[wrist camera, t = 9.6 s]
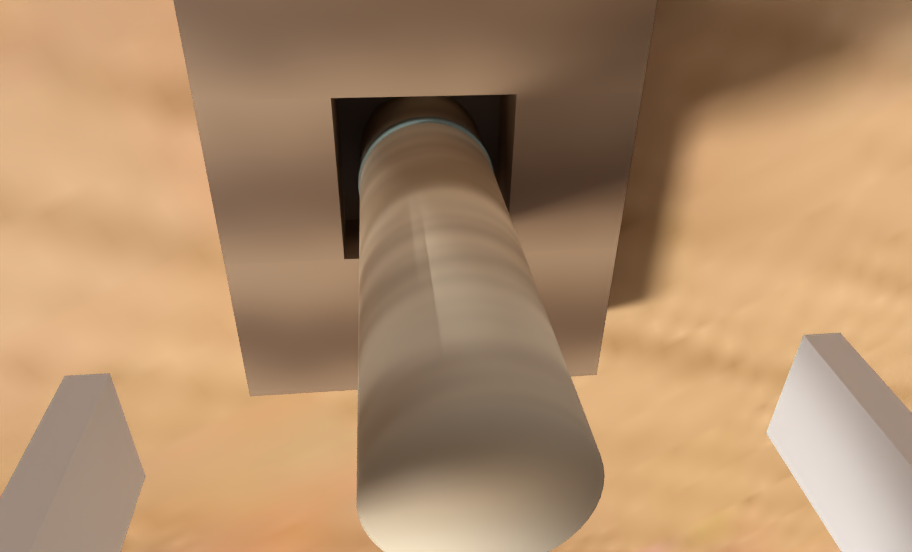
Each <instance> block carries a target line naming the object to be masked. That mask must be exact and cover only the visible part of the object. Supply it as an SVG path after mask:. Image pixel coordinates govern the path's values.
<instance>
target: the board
mask: <svg viewBox="0 0 912 552" xmlns="http://www.w3.org/2000/svg"><path fill="white" fill-rule="evenodd" d="M174 5H175V11H176V16H177V21H178V26H179V31H180V36H181V42H182V47H183V52H184V57H185V62H186V67H187V73H188V78H189V83H190V88H191V93H192V98H193V104H194V109H195V114H196V119H197V124H198V130H199V135H200V140H201V145H202V150H203V155H204V161H205V166H206V171H207V176H208V181H209V186H210V192H211V197H212V202H213V207H214V212H215V217H216V223H217V228H218V233H219V238H220V243H221V248H222V254H223V259H224V264H225V269H226V274H227V279H228V285H229V290H230V295H231V300H232V305H233V311H234V316H235V321H236V326H237V331H238V336H239V342H240V347H241V352H242V357H243V362H244V367H245V373H246V378H247V383H248V388H249V393H250V396H263V395H279V394H295V393H311V392H328V391H344V390H358V329H359V232H360V196H359V189H358V179H359V169H360V143H361V136H362V133H363V129H364V127H365V125H366V123H367V121H368V119H369V118H370V116H371V115H372V113H373V112H374V111H375V110H376V109H377V108H378V107H379V106H380V105H381V104H382V103H384V102H385V101H387V100H388V99H390V98H392V97H409V96H448V97H450V98H452V99H453V100H455V101H456V102H458V103H459V104H460V105H461V106H462V107H463V108H464V109H465V110H466V111H467V112H468V113H469V115H470V116H471V118H472V119H473V121H474V123H475V125H476V128H477V131H478V133H479V136H480V138H481V141H482V144H483V146H484V147H485V149H486V151H487V153H488V155H489V158H490V161H491V164H492V167H493V172H494V175H495V178H496V181H497V183H498V186H499V189H500V191H501V194H502V197H503V199H504V202H505V205H506V207H507V210H508V212H509V215H510V218H511V220H512V223H513V226H514V228H515V231H516V234H517V236H518V239H519V242H520V244H521V247H522V249H523V252H524V255H525V257H526V260H527V263H528V265H529V268H530V271H531V273H532V276H533V279H534V281H535V284H536V286H537V289H538V292H539V294H540V297H541V300H542V302H543V305H544V308H545V310H546V313H547V316H548V318H549V321H550V323H551V326H552V329H553V331H554V334H555V337H556V339H557V342H558V345H559V347H560V350H561V353H562V355H563V358H564V361H565V363H566V366H567V368H568V371H569V374H570V376H586V375H597V369H598V363H599V357H600V350H601V344H602V338H603V332H604V326H605V320H606V313H607V307H608V301H609V295H610V289H611V283H612V277H613V270H614V264H615V258H616V252H617V246H618V240H619V233H620V227H621V221H622V215H623V209H624V203H625V197H626V190H627V184H628V178H629V172H630V166H631V160H632V153H633V147H634V141H635V135H636V129H637V123H638V117H639V110H640V104H641V98H642V92H643V86H644V80H645V74H646V67H647V61H648V55H649V49H650V43H651V37H652V30H653V24H654V18H655V12H656V6H657V0H174Z"/></svg>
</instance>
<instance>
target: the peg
mask: <svg viewBox="0 0 912 552" xmlns="http://www.w3.org/2000/svg"><path fill="white" fill-rule="evenodd" d="M358 189H359V196H360V232H359V329H358V427H357V511H358V516H359V519H360V522H361V524H362V527H363V529H364V530H365V532H366V533H367V535H368V536H369V538H370V539H371V540H372V541H373V542H374V543H375V544H376V545H377V546H378V547H379V548H380V549H382V550H383V551H384V552H549V551H551V550H553V549H554V548H556V547H558V546H559V545H561V544H562V543H563V542H565V541H566V540H567V539H569V538H570V537H571V536H572V535H574V534H575V533H576V532H577V531H578V530H579V529H580V528H581V527H582V526H583V525H584V523H585V522H586V521H587V520H588V519H589V517H590V516H591V514H592V513H593V511H594V510H595V508H596V506H597V504H598V502H599V499H600V497H601V493H602V490H603V485H604V467H603V463H602V459H601V456H600V453H599V450H598V448H597V445H596V442H595V440H594V437H593V435H592V432H591V429H590V427H589V424H588V421H587V419H586V416H585V413H584V411H583V408H582V405H581V403H580V400H579V398H578V395H577V392H576V390H575V387H574V384H573V382H572V379H571V376H570V374H569V371H568V368H567V366H566V363H565V361H564V358H563V355H562V353H561V350H560V347H559V345H558V342H557V339H556V337H555V334H554V331H553V329H552V326H551V323H550V321H549V318H548V316H547V313H546V310H545V308H544V305H543V302H542V300H541V297H540V294H539V292H538V289H537V286H536V284H535V281H534V279H533V276H532V273H531V271H530V268H529V265H528V263H527V260H526V257H525V255H524V252H523V249H522V247H521V244H520V242H519V239H518V236H517V234H516V231H515V228H514V226H513V223H512V220H511V218H510V215H509V212H508V210H507V207H506V205H505V202H504V199H503V197H502V194H501V191H500V189H499V186H498V183H497V181H496V178H495V175H494V172H493V167H492V164H491V161H490V158H489V155H488V153H487V151H486V149H485V147H484V146H483V144H482V141H481V138H480V136H479V133H478V131H477V128H476V125H475V123H474V121H473V119H472V118H471V116H470V115H469V113H468V112H467V111H466V110H465V109H464V108H463V107H462V106H461V105H460V104H459V103H458V102H456V101H455V100H453V99H452V98H450V97H448V96H409V97H392V98H390V99H388V100H387V101H385V102H384V103H382V104H381V105H380V106H379V107H378V108H377V109H376V110H375V111H374V112H373V113H372V115H371V116H370V118H369V119H368V121H367V123H366V125H365V127H364V129H363V133H362V136H361V143H360V169H359V179H358Z"/></svg>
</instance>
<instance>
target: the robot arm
mask: <svg viewBox="0 0 912 552" xmlns="http://www.w3.org/2000/svg"><path fill="white" fill-rule="evenodd" d="M766 433H767V435H768V437H769V438H770V440H771V441H772V443H773V444H774V446H775V448H776V449H777V451H778V452H779V454H780V456H781V457H782V459H783V460H784V462H785V463H786V465H787V467H788V468H789V470H790V471H791V473H792V474H793V476H794V478H795V479H796V481H797V482H798V484H799V486H800V487H801V489H802V490H803V492H804V493H805V495H806V497H807V498H808V500H809V501H810V503H811V504H812V506H813V508H814V509H815V511H816V512H817V514H818V516H819V517H820V519H821V520H822V522H823V523H824V525H825V527H826V528H827V530H828V531H829V533H830V534H831V536H832V538H833V539H834V541H835V542H836V544H837V546H838V547H839V549H840V550H841V552H912V413H911V412H910V411H909V409H908V408H907V407H906V406H905V405H904V404H903V403H902V402H901V400H900V399H899V398H898V397H897V396H896V395H895V394H894V393H893V392H892V390H891V389H890V388H889V387H888V386H887V385H886V384H885V383H884V381H883V380H882V379H881V378H880V377H879V376H878V375H877V374H876V372H875V371H874V370H873V369H872V368H871V367H870V366H869V365H868V364H867V362H866V361H865V360H864V359H863V358H862V357H861V356H860V355H859V353H858V352H857V351H856V350H855V349H854V348H853V347H852V346H851V344H850V343H849V342H848V341H847V340H846V339H845V338H844V337H843V336H842V334H841V333H828V334H810V335H803V338H802V340H801V343H800V346H799V348H798V351H797V353H796V356H795V359H794V361H793V364H792V367H791V369H790V372H789V375H788V377H787V380H786V382H785V385H784V388H783V390H782V393H781V396H780V398H779V401H778V403H777V406H776V409H775V411H774V414H773V417H772V419H771V422H770V425H769V427H768V430H767V432H766ZM144 479H145V474H144V471H143V468H142V465H141V462H140V459H139V456H138V454H137V451H136V448H135V445H134V442H133V439H132V436H131V433H130V431H129V428H128V425H127V422H126V419H125V416H124V413H123V410H122V407H121V405H120V402H119V399H118V396H117V393H116V390H115V387H114V384H113V382H112V379H111V376H110V373H107V374H89V375H71V376H64V378H63V380H62V382H61V384H60V386H59V388H58V390H57V392H56V393H55V395H54V397H53V399H52V401H51V403H50V405H49V407H48V409H47V410H46V412H45V414H44V416H43V418H42V420H41V422H40V424H39V426H38V428H37V429H36V431H35V433H34V435H33V437H32V439H31V441H30V443H29V445H28V447H27V448H26V450H25V452H24V454H23V456H22V458H21V460H20V462H19V464H18V465H17V467H16V469H15V471H14V473H13V475H12V477H11V479H10V481H9V483H8V484H7V486H6V488H5V490H4V492H3V494H2V496H1V498H0V552H121V549H122V546H123V543H124V540H125V537H126V534H127V531H128V528H129V524H130V521H131V518H132V515H133V512H134V509H135V506H136V503H137V500H138V497H139V494H140V491H141V488H142V485H143V482H144Z"/></svg>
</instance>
